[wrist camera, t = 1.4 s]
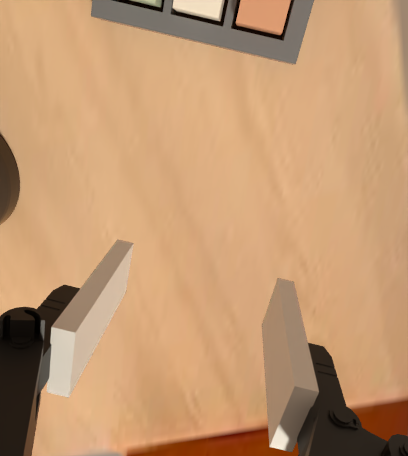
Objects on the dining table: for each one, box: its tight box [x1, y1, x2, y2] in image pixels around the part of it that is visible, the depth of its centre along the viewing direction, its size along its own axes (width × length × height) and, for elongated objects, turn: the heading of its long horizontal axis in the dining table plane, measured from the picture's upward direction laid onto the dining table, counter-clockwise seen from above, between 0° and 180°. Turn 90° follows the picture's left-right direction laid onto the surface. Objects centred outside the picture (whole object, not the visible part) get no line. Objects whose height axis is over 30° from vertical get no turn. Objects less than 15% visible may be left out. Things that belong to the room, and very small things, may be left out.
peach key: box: [236, 0, 291, 36], centre depth 33 cm, size 4×4×2 cm
